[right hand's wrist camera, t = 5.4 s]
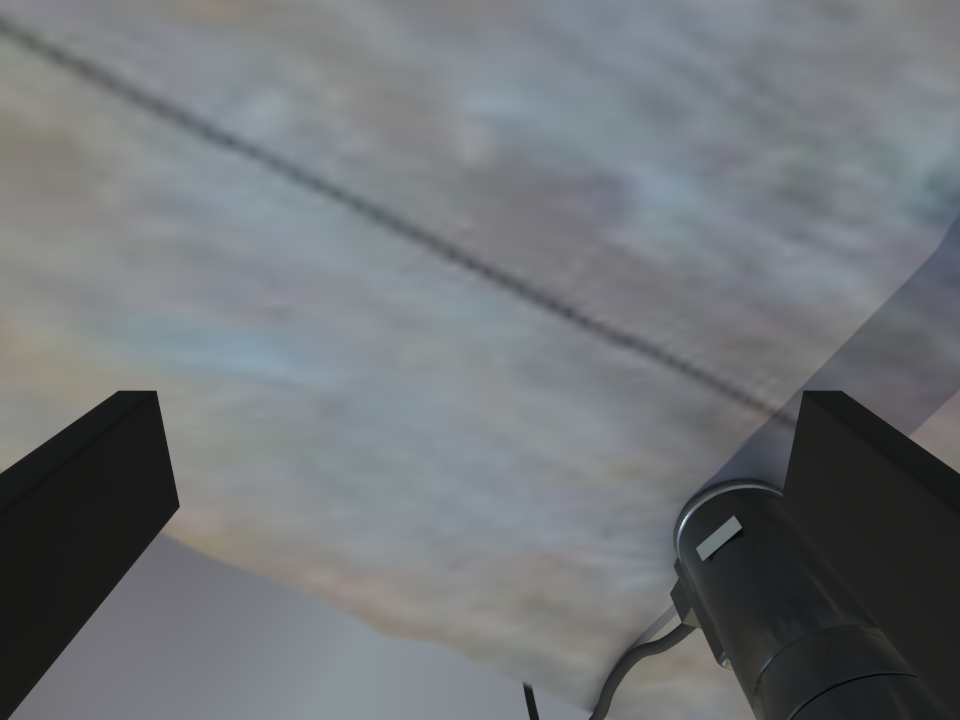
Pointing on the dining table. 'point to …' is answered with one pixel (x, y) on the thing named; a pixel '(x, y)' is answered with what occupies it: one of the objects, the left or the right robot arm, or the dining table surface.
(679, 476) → the dining table surface
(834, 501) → the right robot arm
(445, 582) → the dining table surface
